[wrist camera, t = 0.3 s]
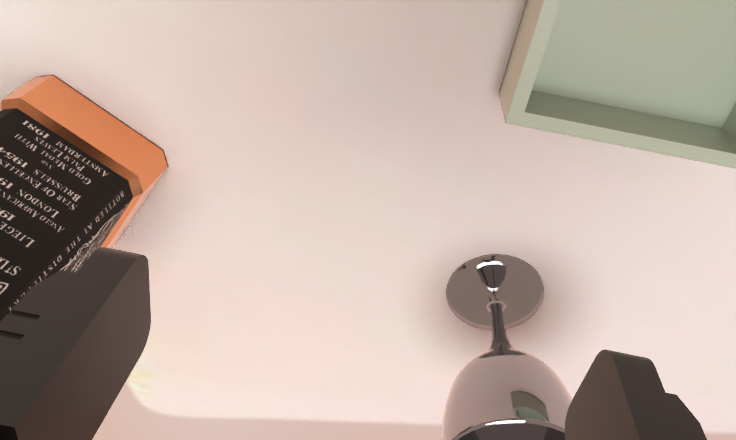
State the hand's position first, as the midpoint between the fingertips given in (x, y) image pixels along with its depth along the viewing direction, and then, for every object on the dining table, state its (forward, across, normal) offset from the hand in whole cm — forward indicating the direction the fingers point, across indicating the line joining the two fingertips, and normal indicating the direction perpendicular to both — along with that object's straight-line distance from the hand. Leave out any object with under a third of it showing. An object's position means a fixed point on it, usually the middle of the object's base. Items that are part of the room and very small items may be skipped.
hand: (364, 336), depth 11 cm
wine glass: (+28, -10, +20) cm, 35 cm away
